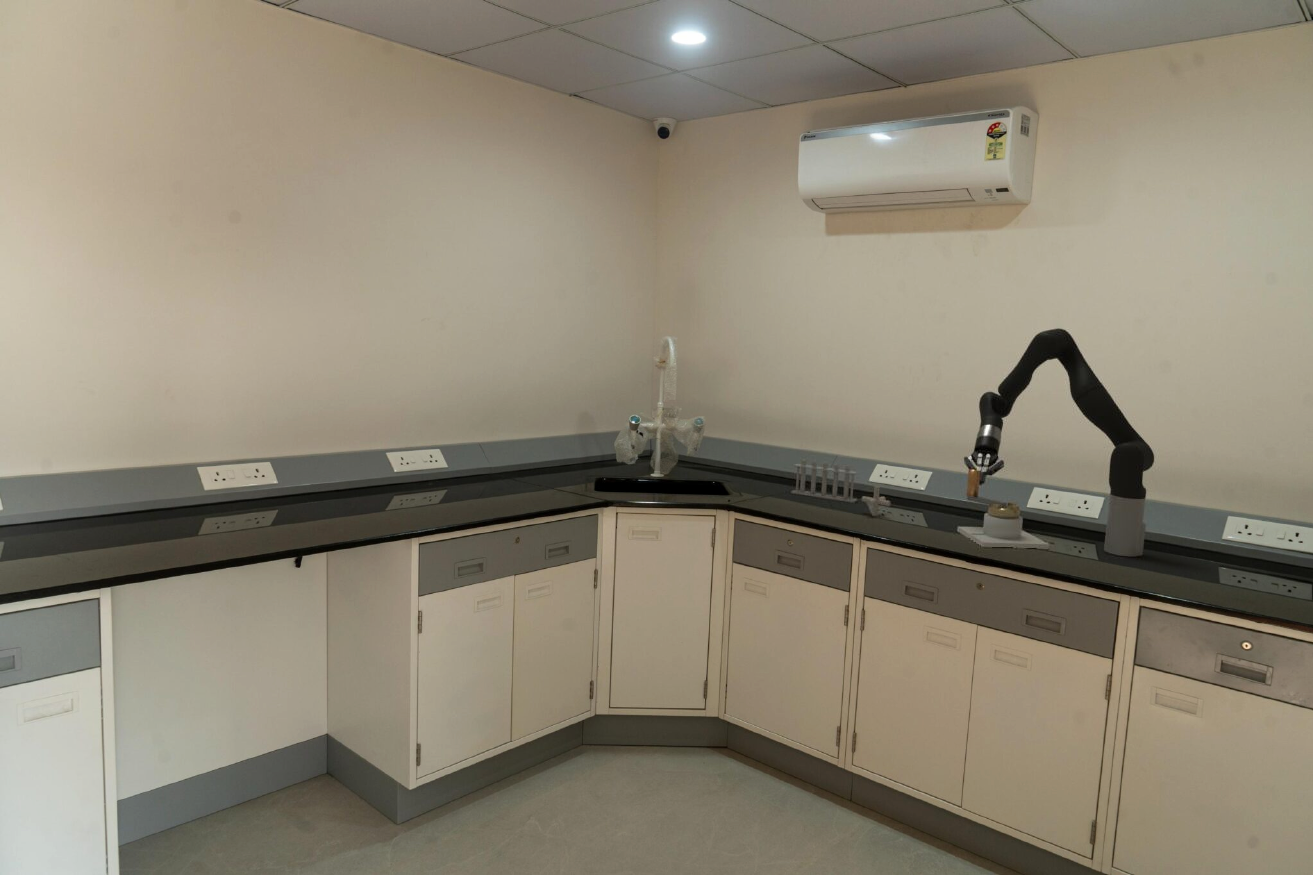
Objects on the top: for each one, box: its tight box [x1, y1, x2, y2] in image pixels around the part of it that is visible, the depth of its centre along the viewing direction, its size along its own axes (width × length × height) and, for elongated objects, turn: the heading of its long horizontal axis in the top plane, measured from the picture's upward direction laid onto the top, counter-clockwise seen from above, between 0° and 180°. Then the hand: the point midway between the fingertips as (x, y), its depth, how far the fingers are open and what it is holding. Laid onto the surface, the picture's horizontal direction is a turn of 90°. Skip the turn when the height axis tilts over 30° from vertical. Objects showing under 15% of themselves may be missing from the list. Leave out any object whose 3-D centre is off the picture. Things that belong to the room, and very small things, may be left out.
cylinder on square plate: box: [956, 512, 1050, 550], centre depth 263 cm, size 20×20×8 cm
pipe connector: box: [861, 485, 891, 517], centre depth 292 cm, size 10×10×10 cm
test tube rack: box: [790, 459, 860, 504], centre depth 321 cm, size 25×4×13 cm, turn 55°
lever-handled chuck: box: [966, 469, 1021, 519], centre depth 266 cm, size 18×9×12 cm, turn 32°
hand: (979, 483), depth 274 cm, fingers closed
